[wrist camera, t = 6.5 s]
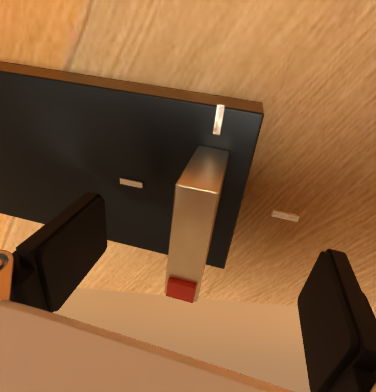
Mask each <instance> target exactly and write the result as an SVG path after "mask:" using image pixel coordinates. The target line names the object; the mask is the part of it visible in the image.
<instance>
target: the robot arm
mask: <svg viewBox="0 0 376 392" xmlns="http://www.w3.org/2000/svg"><path fill="white" fill-rule="evenodd" d="M106 248H107V230H106V213H105V200H104V199H103V198H102V196H101V195H100V194H97V193H92V192H86V193H85V194H83V195H82V196H81V197H79V198H78V199H77V200H76V201H74V202H73V203H72V204H71V205H69V206H68V207H67V208H66V209H64V210H63V211H62V212H60V213H59V214H58V215H57V216H55V217H54V218H53V219H52V220H50V221H49V222H48V223H47V224H45V225H44V226H43V227H41V228H40V229H39V230H38V231H36V232H35V233H34V234H33V235H31V236H30V237H29V238H28V239H26V240H25V241H24V242H23V243H21V244H20V245H19V246H17V247H16V251H15V252H13V253H12V254H11V253H10V252H8V251H6V250H0V392H292V391H290V390H287V389H284V388H281V387H279V386H276V385H273V384H270V383H267V382H264V381H261V380H258V379H255V378H252V377H249V376H246V375H243V374H239V373H237V372H234V371H231V370H228V369H225V368H222V367H219V366H216V365H212V364H209V363H206V362H204V361H200V360H197V359H194V358H191V357H188V356H185V355H182V354H179V353H176V352H173V351H169V350H167V349H163V348H161V347H157V346H155V345H151V344H148V343H145V342H142V341H139V340H136V339H133V338H130V337H127V336H123V335H121V334H117V333H114V332H111V331H108V330H105V329H102V328H99V327H96V326H92V325H89V324H86V323H83V322H80V321H77V320H74V319H70V318H67V317H64V316H61V315H58V314H54V313H53V312H54V311H57V310H59V309H60V308H61V306H62V305H63V304H64V303H65V301H66V300H67V299H68V297H69V296H70V295H71V294H72V292H73V291H74V290H75V289H76V287H77V286H78V285H79V284H80V282H81V281H82V280H83V279H84V277H85V276H86V275H87V273H88V272H89V271H90V270H91V268H92V267H93V266H94V265H95V263H96V262H97V261H98V260H99V258H100V257H101V256H102V254H103V253H104V252H105V250H106ZM298 310H299V317H300V324H301V330H302V337H303V344H304V350H305V358H306V364H307V371H308V379H309V385H310V391H311V392H376V318H375V316H374V314H373V311H372V309H371V307H370V304H369V302H368V300H367V297H366V296H365V294H364V293H363V292H362V291H361V289H360V286H359V284H358V281H357V279H356V277H355V274H354V272H353V270H352V267H351V265H350V263H349V260H348V258H347V255H346V254H345V253H344V252H340V251H336V250H332V249H327V250H326V252H325V251H322V252H321V253H320V255H319V257H318V259H317V261H316V263H315V265H314V267H313V269H312V271H311V273H310V275H309V277H308V279H307V281H306V283H305V285H304V287H303V289H302V291H301V293H300V295H299V297H298Z"/></svg>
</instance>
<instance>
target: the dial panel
mask: <svg viewBox="0 0 376 392" xmlns="http://www.w3.org/2000/svg"><path fill="white" fill-rule="evenodd" d="M263 117H264V112H263V105H262V103H260V102H254V101H248V100H241V99H235V98H229V97H222V96H216V95H210V94H203V93H197V92H191V91H184V90H178V89H172V88H165V87H159V86H153V85H146V84H140V83H134V82H127V81H121V80H115V79H108V78H102V77H96V76H89V75H83V74H76V73H70V72H64V71H57V70H51V69H45V68H38V67H32V66H26V65H19V64H13V63H7V62H0V213H2V214H6V215H10V216H14V217H18V218H22V219H26V220H30V221H34V222H38V223H42V224H47V223H48V222H49V221H50V220H52V219H53V218H54V217H55V216H57V215H58V214H59V213H60V212H62V211H63V210H64V209H66V208H67V207H68V206H69V205H71V204H72V203H73V202H74V201H76V200H77V199H78V198H79V197H81V196H82V195H83V194H85V193H86V192H92V193H97V194H100V195H101V196H102V198H103V199H104V200H105V213H106V230H107V240H110V241H114V242H118V243H122V244H126V245H130V246H134V247H138V248H142V249H146V250H150V251H154V252H158V253H162V254H166V255H168V253H169V243H170V233H171V223H172V214H173V204H174V194H175V184H176V183H177V181H178V179H179V178H180V176H181V174H182V173H183V171H184V169H185V168H186V166H187V164H188V163H189V161H190V159H191V158H192V156H193V154H194V153H195V151H196V149H197V148H198V146H205V147H210V148H216V149H221V150H226V151H229V157H228V162H227V167H226V171H225V176H224V181H223V186H222V191H221V195H220V200H219V205H218V210H217V215H216V219H215V224H214V229H213V234H212V239H211V243H210V247H209V252H208V256H207V260H206V265H210V266H214V267H218V268H222V269H224V268H225V264H226V260H227V256H228V252H229V248H230V245H231V241H232V237H233V233H234V229H235V225H236V221H237V217H238V214H239V210H240V206H241V202H242V198H243V194H244V190H245V186H246V183H247V179H248V175H249V171H250V167H251V163H252V159H253V156H254V152H255V148H256V144H257V140H258V136H259V132H260V128H261V125H262V121H263ZM271 216H272V217H277V218H281V219H286V220H291V221H295V222H298V220H299V217H300V216H299V215H296V214H291V213H287V212H282V211H277V210H272V213H271Z"/></svg>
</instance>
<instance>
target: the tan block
mask: <svg viewBox="0 0 376 392" xmlns="http://www.w3.org/2000/svg"><path fill="white" fill-rule="evenodd" d="M228 157H229V151H226V150H221V149H216V148H210V147H205V146H198V148H197V149H196V151H195V153H194V154H193V156H192V158H191V159H190V161H189V163H188V164H187V166H186V168H185V169H184V171H183V173H182V174H181V176H180V178H179V179H178V181H177V183H176V184H175V194H174V204H173V214H172V223H171V233H170V243H169V253H168V263H167V272H166V282H165V294H166V296H169V297H172V298H176V299H180V300H184V301H187V302H191V303H193V301H194V302H196V301H197V299H198V295H199V290H200V286H201V282H202V277H203V273H204V269H205V265H206V260H207V256H208V252H209V247H210V243H211V239H212V234H213V229H214V224H215V219H216V215H217V210H218V205H219V200H220V195H221V191H222V186H223V181H224V176H225V171H226V167H227V162H228Z"/></svg>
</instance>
